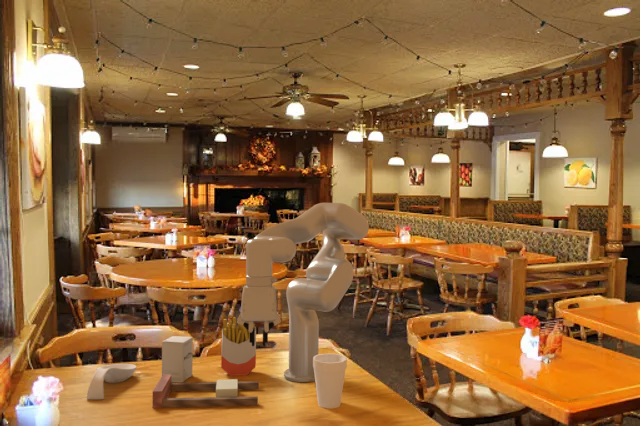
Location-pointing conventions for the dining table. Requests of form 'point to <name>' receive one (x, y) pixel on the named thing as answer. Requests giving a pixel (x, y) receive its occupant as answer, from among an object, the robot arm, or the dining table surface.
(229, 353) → the french fries container
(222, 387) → the block
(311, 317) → the robot arm
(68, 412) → the dining table surface
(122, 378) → the spoon rest
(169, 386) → the guide track
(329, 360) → the foam cup
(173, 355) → the supplement box
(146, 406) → the dining table surface
